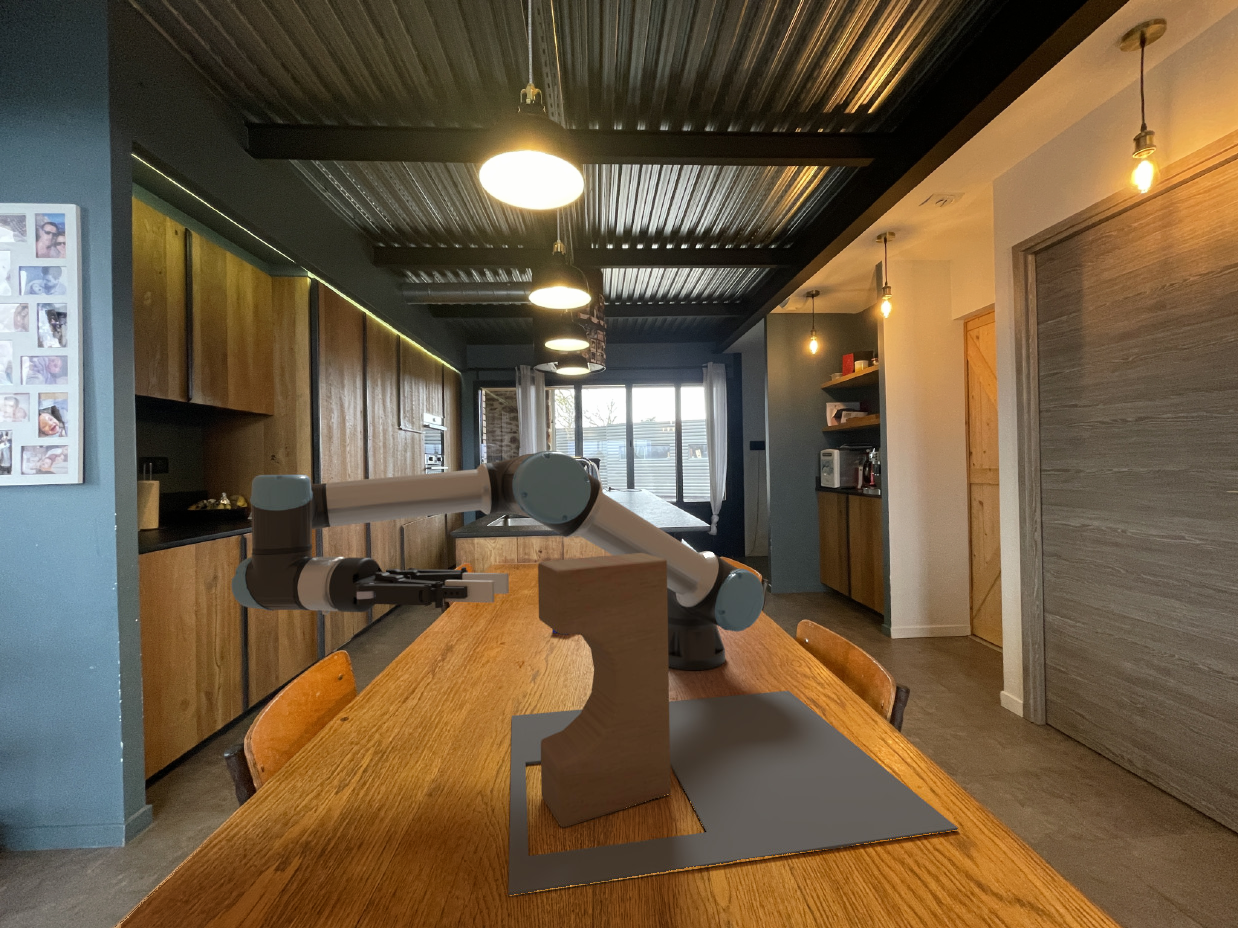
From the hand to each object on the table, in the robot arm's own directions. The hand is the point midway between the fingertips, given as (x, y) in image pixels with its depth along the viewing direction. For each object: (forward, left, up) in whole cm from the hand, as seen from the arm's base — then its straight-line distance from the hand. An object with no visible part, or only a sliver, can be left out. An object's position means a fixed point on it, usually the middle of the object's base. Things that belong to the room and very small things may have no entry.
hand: (500, 587), depth 77 cm
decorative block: (-13, +6, -26) cm, 30 cm away
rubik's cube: (-14, -69, -26) cm, 76 cm away
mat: (-26, +1, -26) cm, 37 cm away
